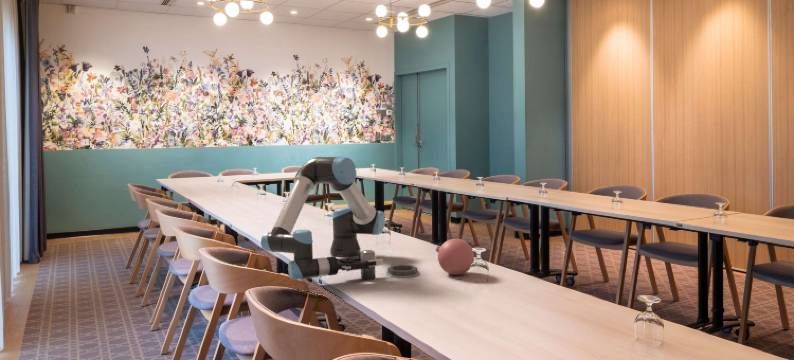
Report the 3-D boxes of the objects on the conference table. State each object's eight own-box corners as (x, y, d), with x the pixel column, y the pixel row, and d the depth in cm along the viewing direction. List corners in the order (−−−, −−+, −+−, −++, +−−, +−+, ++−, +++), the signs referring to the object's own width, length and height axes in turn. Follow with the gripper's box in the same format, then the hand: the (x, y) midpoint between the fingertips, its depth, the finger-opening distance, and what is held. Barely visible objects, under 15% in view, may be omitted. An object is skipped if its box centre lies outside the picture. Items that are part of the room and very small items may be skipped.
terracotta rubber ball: (452, 266, 278) (452, 232, 276) (481, 275, 261) (481, 239, 260) (424, 271, 270) (424, 236, 268) (452, 281, 253) (452, 243, 251)
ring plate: (381, 271, 270) (381, 266, 270) (410, 268, 276) (410, 262, 275) (394, 279, 257) (394, 273, 257) (424, 275, 263) (424, 269, 263)
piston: (359, 277, 261) (358, 250, 260) (372, 275, 264) (371, 249, 263) (364, 280, 256) (363, 253, 255) (377, 278, 258) (377, 251, 257)
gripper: (320, 270, 261) (370, 264, 270) (334, 280, 243) (388, 273, 253) (319, 253, 260) (370, 247, 270) (334, 262, 243) (388, 255, 252)
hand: (379, 260), depth 261 cm, fingers closed on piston, 6 cm apart
